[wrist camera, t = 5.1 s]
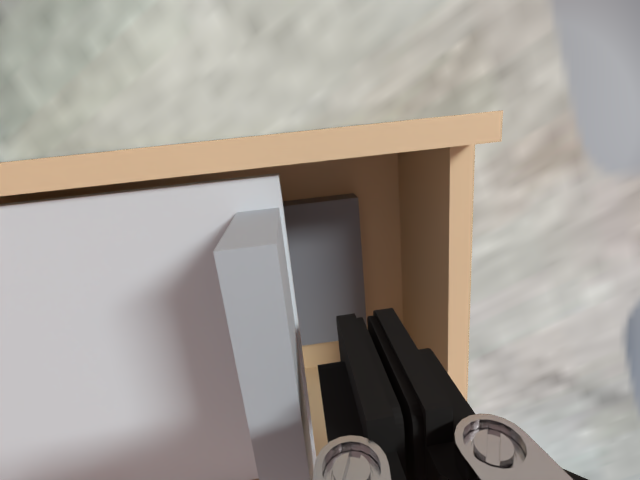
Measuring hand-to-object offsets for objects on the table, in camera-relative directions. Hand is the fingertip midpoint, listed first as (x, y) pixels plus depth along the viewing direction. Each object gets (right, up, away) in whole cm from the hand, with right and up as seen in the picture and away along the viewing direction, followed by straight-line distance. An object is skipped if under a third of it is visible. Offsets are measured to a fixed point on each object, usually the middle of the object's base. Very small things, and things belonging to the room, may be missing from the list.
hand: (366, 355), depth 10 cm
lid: (-11, -1, +1) cm, 11 cm away
